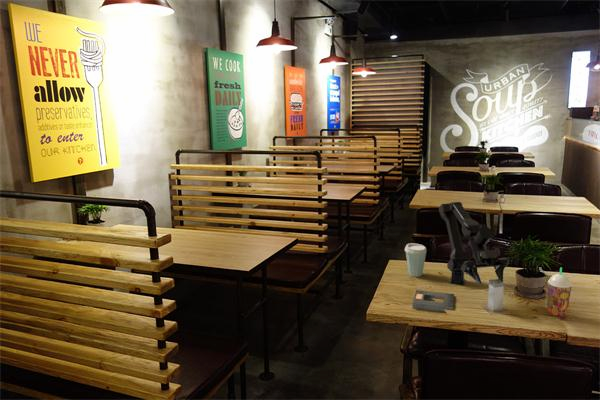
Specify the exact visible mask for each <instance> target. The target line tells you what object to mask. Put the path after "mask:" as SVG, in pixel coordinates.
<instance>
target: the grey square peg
mask: <svg viewBox="0 0 600 400" xmlns="http://www.w3.org/2000/svg"><path fill="white" fill-rule="evenodd" d="M504 286H505V282H504V281H503V282H502V281H501V280H499V279H498V278H496V279H488V293H487V305H488V308H489V309H490V310H491V311H492V312H497V311H502V307H504V306H503V303H504V302H503V301H504V288H505V287H504Z"/></svg>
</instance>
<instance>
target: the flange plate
mask: <svg viewBox="0 0 600 400" xmlns="http://www.w3.org/2000/svg"><path fill="white" fill-rule="evenodd" d="M435 299H439V300H440V299H441V300H443V302H442V301H435ZM454 299H455V294H454V293H448V292H440V291H439V292H438V291H427V290H420V289H416V290H415V294H414V297H413V301H412V309H414V310H423V311H430V312H431V311H432V312H439V313H447V311H446V310H448V311H449V310H451V311H453V310H454Z"/></svg>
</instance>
